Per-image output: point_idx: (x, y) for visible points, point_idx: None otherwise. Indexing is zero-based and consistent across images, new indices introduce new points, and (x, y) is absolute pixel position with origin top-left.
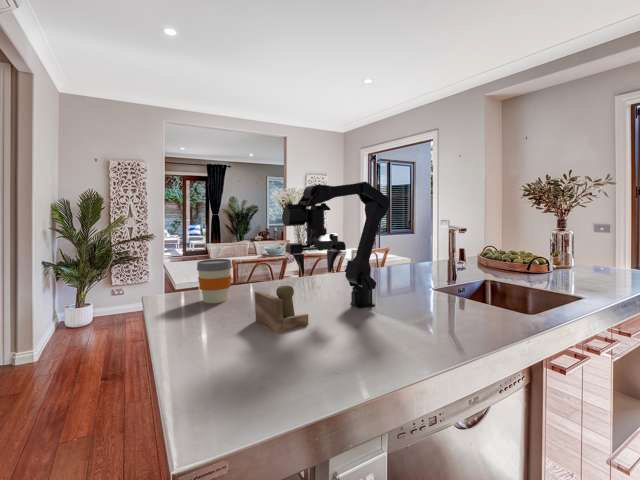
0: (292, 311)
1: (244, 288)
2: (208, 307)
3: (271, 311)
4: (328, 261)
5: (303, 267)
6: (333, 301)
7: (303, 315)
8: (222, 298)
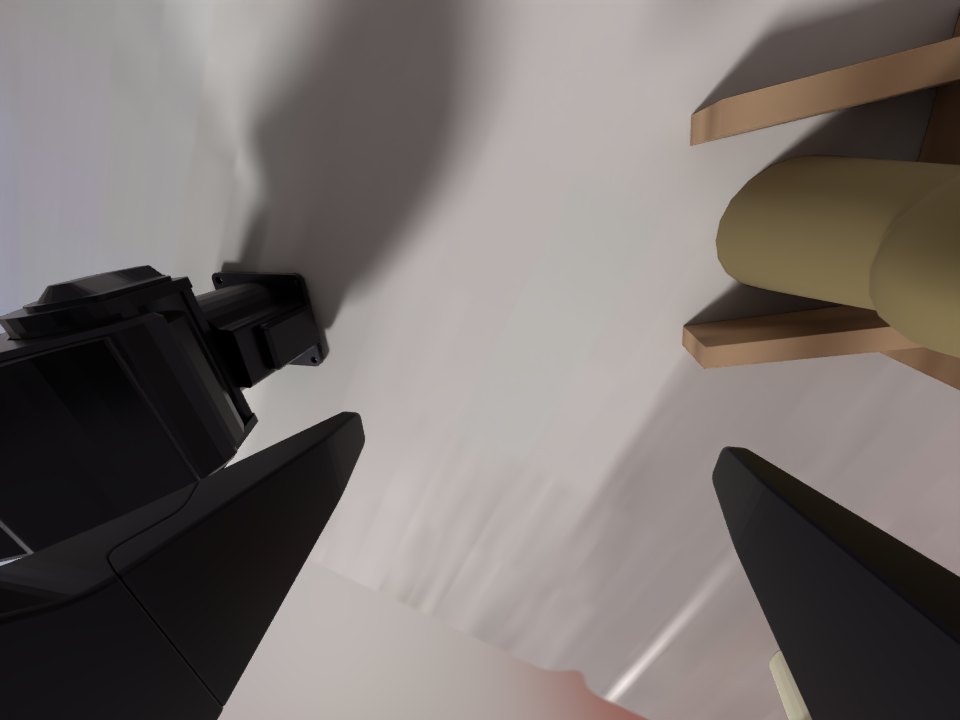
0: (824, 176)
1: (635, 707)
2: None
3: None
4: (271, 570)
5: (837, 530)
6: (386, 429)
7: (771, 87)
8: None
